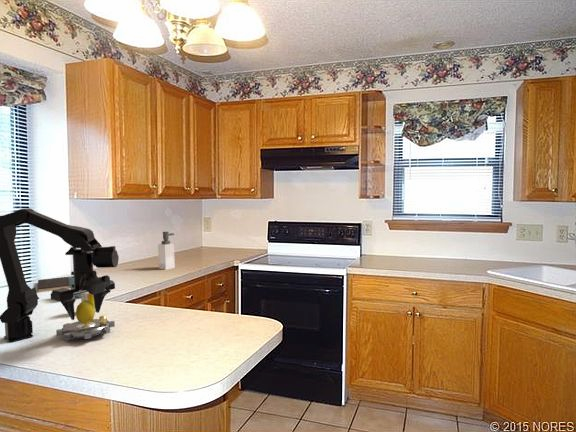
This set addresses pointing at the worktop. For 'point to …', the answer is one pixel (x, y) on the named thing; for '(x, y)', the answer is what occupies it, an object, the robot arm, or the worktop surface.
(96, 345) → the worktop surface
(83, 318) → the lemon
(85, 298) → the supplement bottle
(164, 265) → the soap dispenser
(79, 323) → the sprocket
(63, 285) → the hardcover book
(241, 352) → the worktop surface
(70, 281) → the flower pot
